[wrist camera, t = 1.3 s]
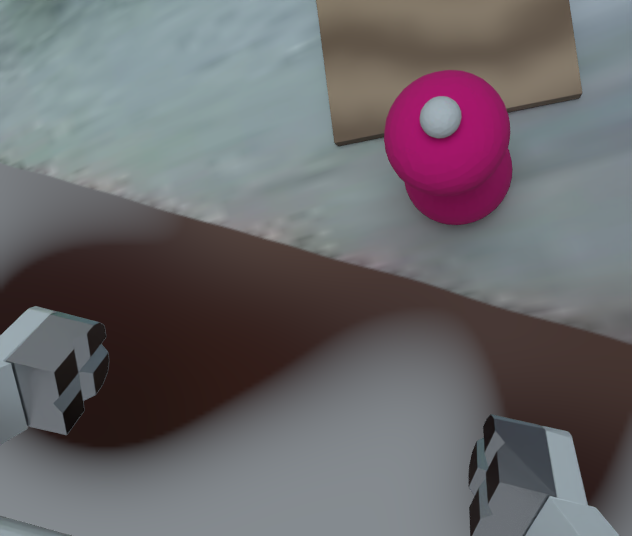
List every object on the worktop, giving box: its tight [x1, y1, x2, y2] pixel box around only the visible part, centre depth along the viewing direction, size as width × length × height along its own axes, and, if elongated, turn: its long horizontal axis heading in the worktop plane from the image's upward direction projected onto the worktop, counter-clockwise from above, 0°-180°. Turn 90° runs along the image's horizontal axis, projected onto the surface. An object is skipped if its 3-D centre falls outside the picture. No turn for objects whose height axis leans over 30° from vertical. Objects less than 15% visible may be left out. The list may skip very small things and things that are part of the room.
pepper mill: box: [384, 70, 512, 225], centre depth 33 cm, size 7×7×20 cm
